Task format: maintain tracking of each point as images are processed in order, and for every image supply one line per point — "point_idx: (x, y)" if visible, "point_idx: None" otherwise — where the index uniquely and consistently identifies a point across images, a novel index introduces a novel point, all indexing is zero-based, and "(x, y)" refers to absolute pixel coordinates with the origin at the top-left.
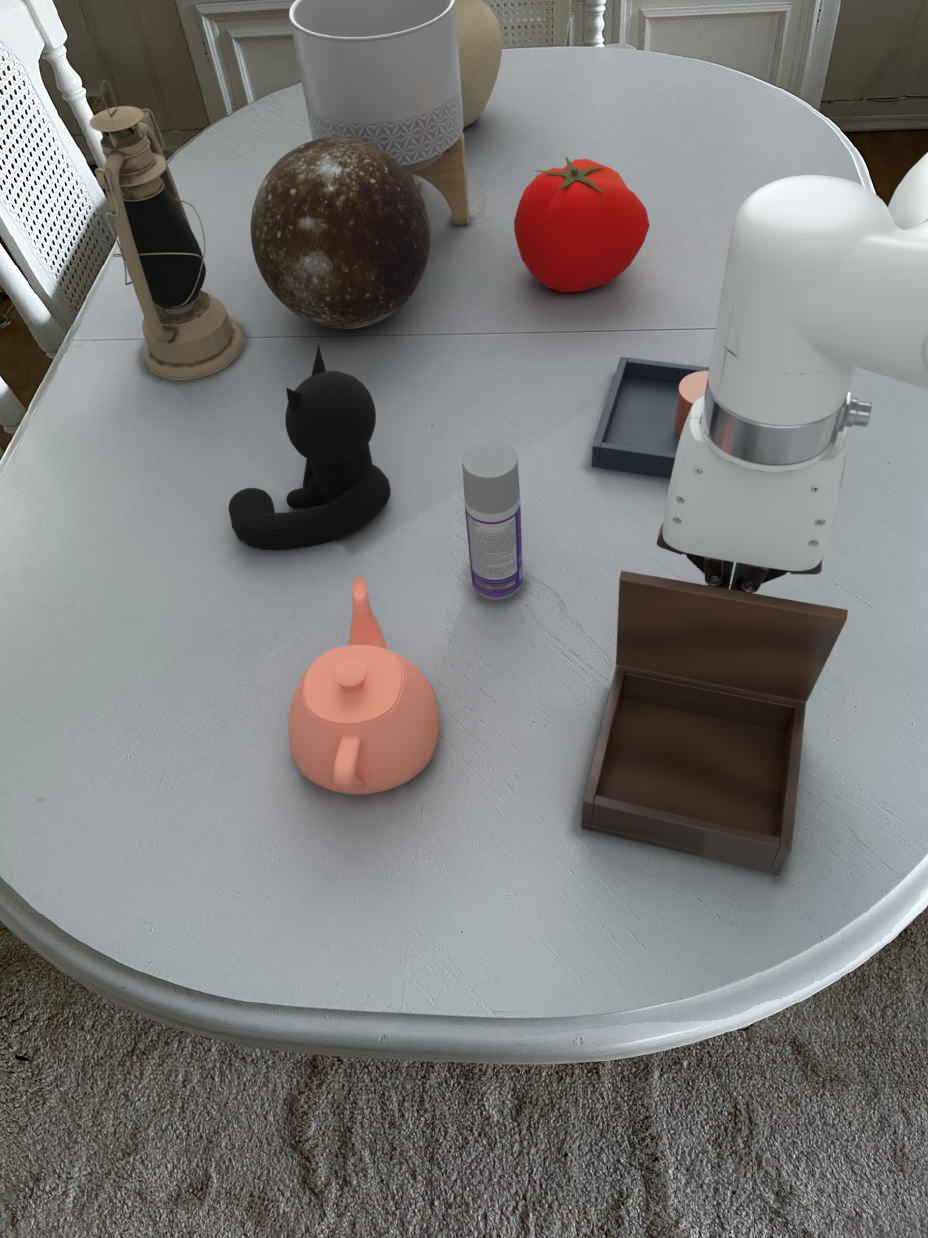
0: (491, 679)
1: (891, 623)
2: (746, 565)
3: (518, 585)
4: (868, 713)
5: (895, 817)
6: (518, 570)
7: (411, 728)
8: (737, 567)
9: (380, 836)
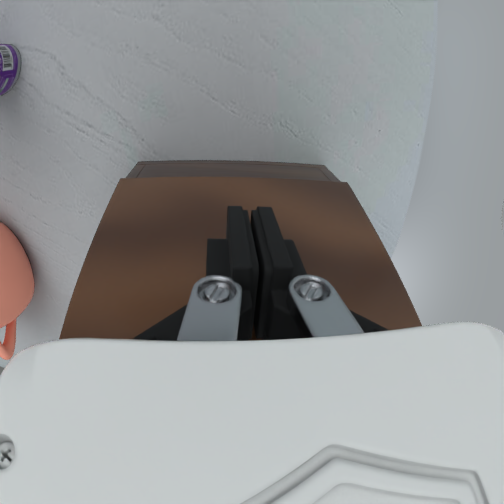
0: (33, 181)
1: (417, 34)
2: (290, 335)
3: (15, 71)
4: (389, 137)
5: (388, 230)
6: (1, 73)
7: (8, 307)
8: (268, 285)
9: (43, 315)
